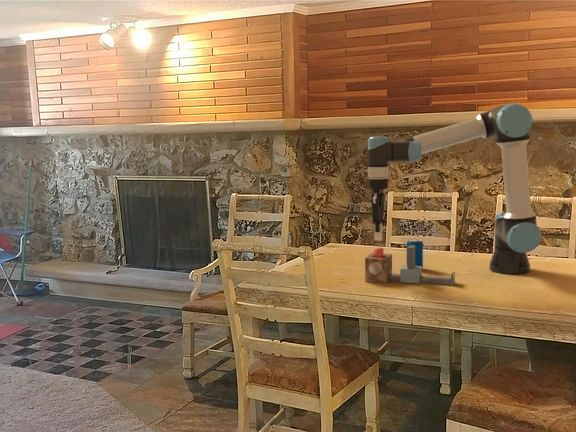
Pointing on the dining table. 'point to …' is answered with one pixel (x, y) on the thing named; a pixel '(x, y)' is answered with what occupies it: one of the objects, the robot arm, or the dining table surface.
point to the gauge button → (378, 252)
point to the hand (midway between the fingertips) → (378, 240)
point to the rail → (428, 279)
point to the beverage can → (417, 250)
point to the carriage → (410, 268)
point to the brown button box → (378, 268)
